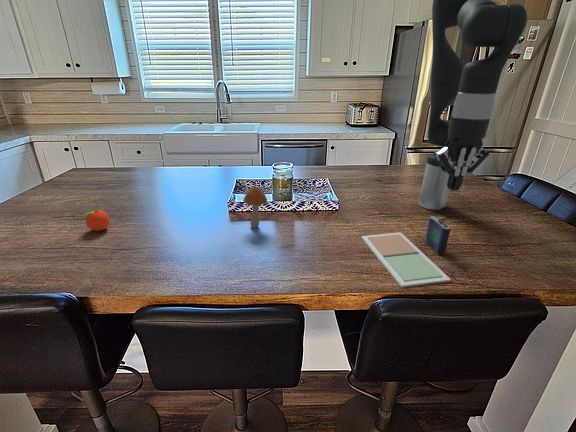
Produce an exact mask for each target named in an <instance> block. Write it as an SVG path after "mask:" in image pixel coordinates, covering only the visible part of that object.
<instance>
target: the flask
mask: <svg viewBox="0 0 576 432" xmlns="http://www.w3.org/2000/svg"><path fill="white" fill-rule="evenodd" d="M445 219H446V216H433V215H431V216H429V219H428V222H427V223H428V224H427V228H426V233H425V236H424V241H423V242H424V243H425V245H427V246H428V247H429V248H430V249H432V251H434V253H435V254H436V255H438V256H441V257H444V256H445V255H446V251H447V245H448V242H449V238H450V232H451V227H450V226H449V225H448V224H447V223H446V221H445Z"/></svg>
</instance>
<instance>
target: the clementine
mask: <svg viewBox="0 0 576 432" xmlns="http://www.w3.org/2000/svg"><path fill="white" fill-rule="evenodd" d="M85 216H86V218H85V224H86V226H87V227H88V228H89V230H92V231H96V232H99V231H104V230H105V229H106V228H107V227H108V226H109V225H110V221H111V220H110V217H109V214H107V213H106V212H105V211H103V210H100V209H99V210H97V209H96V210H92V211H88V212H87V213H85V214H83V216H82V218H81V221H82V220H83V218H84V217H85Z"/></svg>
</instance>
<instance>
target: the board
mask: <svg viewBox="0 0 576 432" xmlns="http://www.w3.org/2000/svg"><path fill="white" fill-rule="evenodd" d="M360 238H361V239H362V241H363V242H364V243H365V245H367V247H368V249H370V251H371V252H372V253H373V254H374V256H375V257H376V258H377V259H378V260H379V262H380V263H381V265H382V266H383V267H384V268H385V269H386V271H388V273H389V274H390V276H391V277H392V278H393V279H394V280H395V282H396V283H397V284H398V286H399V287H400V288H408V287H414V286H422V285H431V284H439V283H447V282H451V278H450V277H449V276H448V275H447V274H446V273H444V271H442V270H441V268H439V267H438V266H437V265H436V264H435V263H434V262H433V261H432V260H431V259H430V258H429V257H428V256H427V255H425V253H423V251H421V250H420V249H419V248H418V247H417V246H416V245H415V244H413V242H412V241H411V240H410V239H408V238H407V237H406V236H405V235H404V234H403V233H402V232H394V233H393V232H392V233H382V234H373V235H372V234H371V235H361V237H360Z"/></svg>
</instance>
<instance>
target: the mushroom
mask: <svg viewBox="0 0 576 432" xmlns="http://www.w3.org/2000/svg"><path fill="white" fill-rule="evenodd" d="M242 202H244V204H246V205H248V206H249V205H250V206H252V212H251V219H250V228H252V229H257V228H259V226H260V217H259V208H260V206H261V205H264V204H266V203H267V202H268V199H267V196H266V193H264V191H263V190H262V189H261V188H260V187H258V186H256V185H254V186H252V187H251V188H250V189H248V191H247V192H246V194H245V195H244V198H243V200H242Z"/></svg>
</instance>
